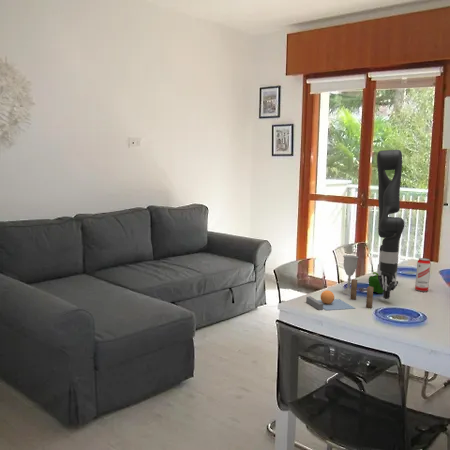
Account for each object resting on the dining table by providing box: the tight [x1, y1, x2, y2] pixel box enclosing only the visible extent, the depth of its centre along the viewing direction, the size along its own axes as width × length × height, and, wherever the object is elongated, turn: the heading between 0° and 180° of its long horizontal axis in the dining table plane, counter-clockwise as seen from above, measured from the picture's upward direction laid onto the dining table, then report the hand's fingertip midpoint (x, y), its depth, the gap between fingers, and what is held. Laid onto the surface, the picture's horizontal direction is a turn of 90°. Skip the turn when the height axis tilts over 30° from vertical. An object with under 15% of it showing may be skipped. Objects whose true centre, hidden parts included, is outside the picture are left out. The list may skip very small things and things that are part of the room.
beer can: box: [414, 257, 431, 293], centre depth 248 cm, size 6×6×16 cm
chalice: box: [342, 254, 360, 296], centre depth 238 cm, size 7×7×18 cm
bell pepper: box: [368, 271, 384, 294], centre depth 242 cm, size 8×8×10 cm
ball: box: [320, 289, 335, 304], centre depth 220 cm, size 6×6×6 cm
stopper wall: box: [305, 296, 324, 311], centre depth 217 cm, size 12×2×2 cm, turn 16°
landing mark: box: [316, 298, 356, 311], centre depth 219 cm, size 14×14×1 cm
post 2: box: [365, 285, 374, 309], centre depth 216 cm, size 3×3×9 cm
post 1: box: [349, 278, 358, 301], centre depth 229 cm, size 3×3×9 cm
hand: (386, 298), depth 227 cm, fingers closed
